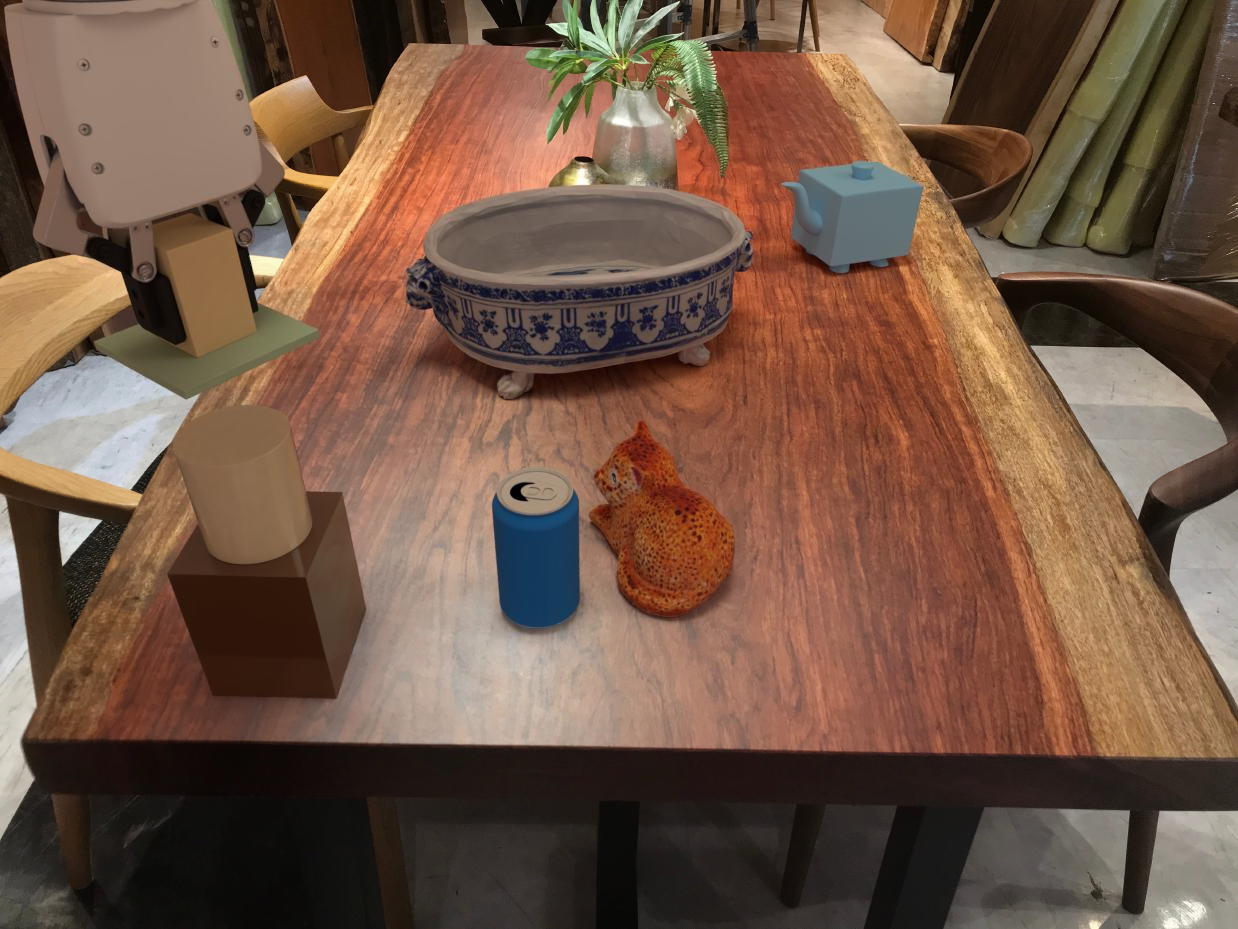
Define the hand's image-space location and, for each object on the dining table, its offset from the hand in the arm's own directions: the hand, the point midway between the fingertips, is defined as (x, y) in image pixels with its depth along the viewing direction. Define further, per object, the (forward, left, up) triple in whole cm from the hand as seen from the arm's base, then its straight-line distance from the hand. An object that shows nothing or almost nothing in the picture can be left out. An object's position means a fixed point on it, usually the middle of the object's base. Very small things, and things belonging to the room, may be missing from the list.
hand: (203, 318), depth 52 cm
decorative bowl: (+53, +12, -28) cm, 61 cm away
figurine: (+26, -16, -28) cm, 41 cm away
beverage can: (+15, -12, -28) cm, 34 cm away
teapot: (+96, -1, -28) cm, 100 cm away
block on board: (0, 0, -2) cm, 2 cm away
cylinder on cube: (0, 0, -28) cm, 28 cm away
